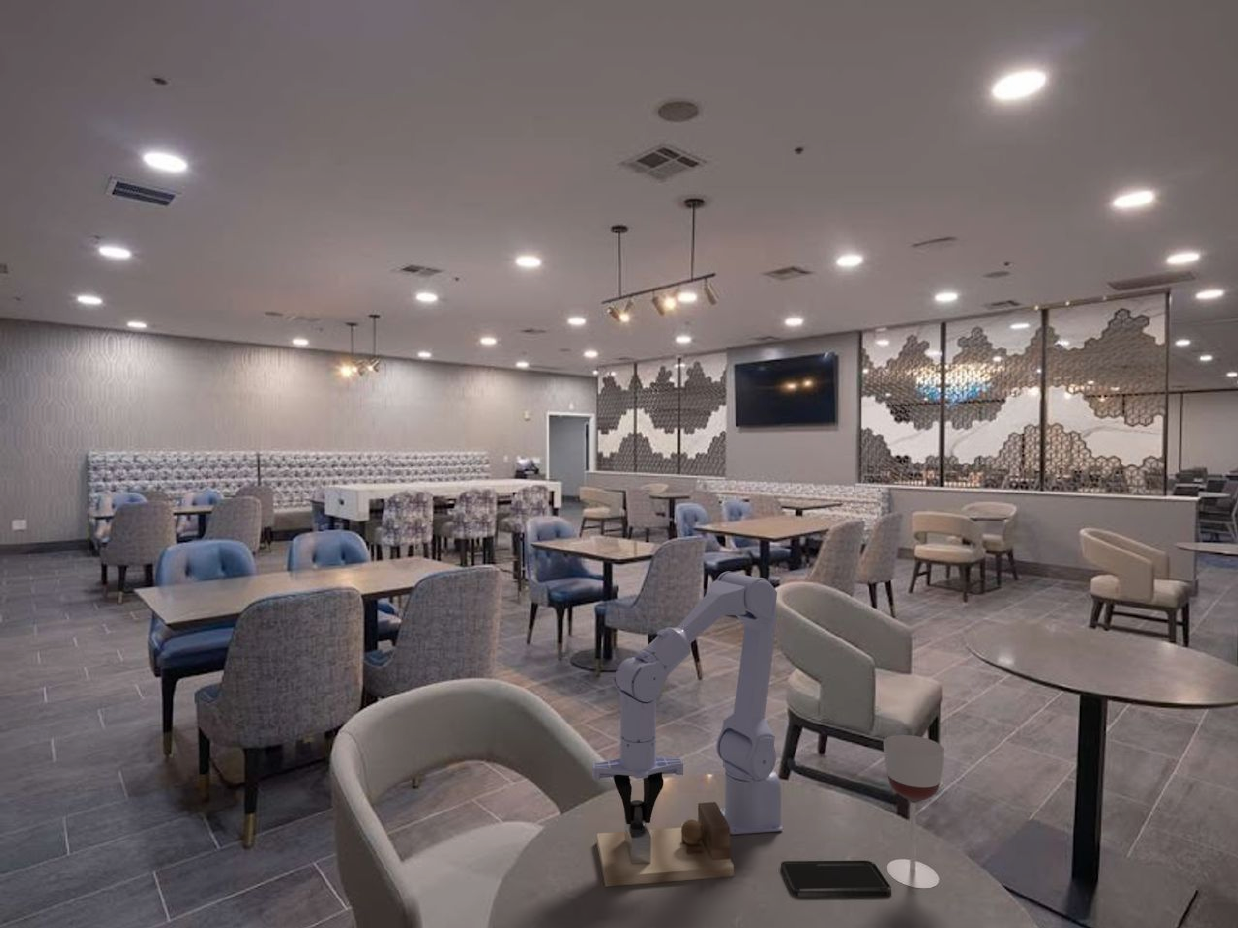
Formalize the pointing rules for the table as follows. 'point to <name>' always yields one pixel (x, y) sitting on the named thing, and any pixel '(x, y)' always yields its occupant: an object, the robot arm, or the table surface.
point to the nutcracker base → (670, 853)
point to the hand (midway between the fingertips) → (637, 820)
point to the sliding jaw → (638, 835)
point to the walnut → (692, 832)
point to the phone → (835, 879)
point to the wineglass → (913, 795)
